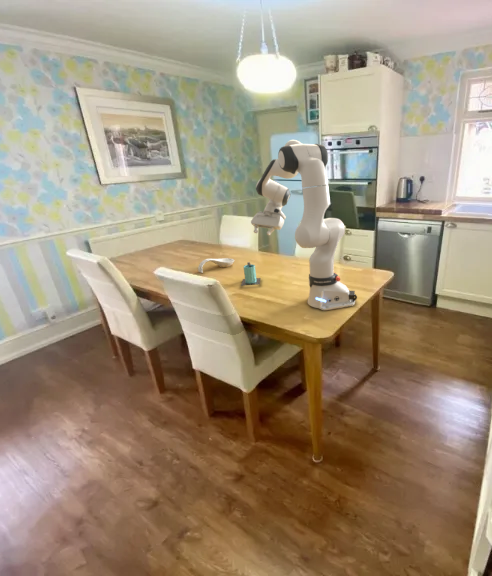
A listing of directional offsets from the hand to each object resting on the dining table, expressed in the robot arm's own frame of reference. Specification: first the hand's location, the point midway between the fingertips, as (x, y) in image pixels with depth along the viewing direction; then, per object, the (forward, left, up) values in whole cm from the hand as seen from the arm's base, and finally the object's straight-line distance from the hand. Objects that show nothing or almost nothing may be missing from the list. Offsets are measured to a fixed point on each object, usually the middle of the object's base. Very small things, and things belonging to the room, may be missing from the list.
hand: (261, 233), depth 176 cm
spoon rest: (+32, -23, -26) cm, 47 cm away
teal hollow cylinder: (+8, +9, -24) cm, 27 cm away
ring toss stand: (+8, +9, -26) cm, 28 cm away
